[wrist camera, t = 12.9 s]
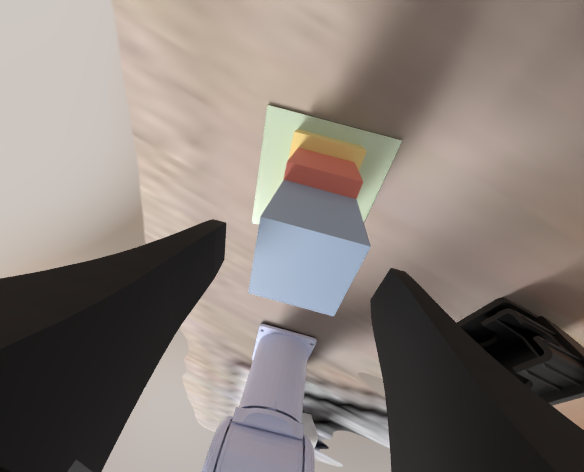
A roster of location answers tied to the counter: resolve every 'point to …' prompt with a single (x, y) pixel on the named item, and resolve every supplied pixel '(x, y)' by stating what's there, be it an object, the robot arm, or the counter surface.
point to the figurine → (309, 428)
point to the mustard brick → (327, 146)
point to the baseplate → (286, 122)
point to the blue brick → (308, 248)
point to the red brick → (324, 173)
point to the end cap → (530, 349)
